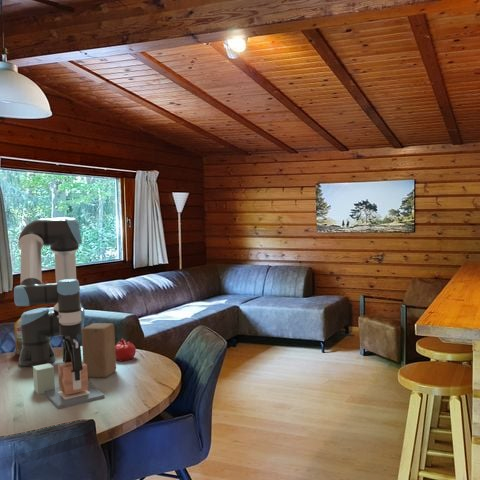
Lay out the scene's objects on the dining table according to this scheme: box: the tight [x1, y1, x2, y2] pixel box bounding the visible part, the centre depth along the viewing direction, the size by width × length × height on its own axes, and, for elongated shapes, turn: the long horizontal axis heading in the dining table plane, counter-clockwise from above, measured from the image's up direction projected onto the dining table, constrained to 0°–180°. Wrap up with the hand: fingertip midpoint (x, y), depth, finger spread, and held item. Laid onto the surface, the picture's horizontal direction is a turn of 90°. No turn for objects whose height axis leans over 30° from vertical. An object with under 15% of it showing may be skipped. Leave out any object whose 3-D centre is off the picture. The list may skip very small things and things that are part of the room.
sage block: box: [32, 363, 56, 395], centre depth 191 cm, size 6×6×9 cm
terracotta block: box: [57, 361, 89, 395], centre depth 184 cm, size 8×8×9 cm
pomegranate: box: [115, 338, 137, 362], centre depth 229 cm, size 10×10×9 cm
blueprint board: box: [43, 381, 105, 410], centre depth 185 cm, size 18×16×1 cm
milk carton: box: [13, 311, 26, 356], centre depth 245 cm, size 11×11×19 cm
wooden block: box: [81, 322, 117, 379], centre depth 208 cm, size 10×10×20 cm
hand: (73, 385), depth 184 cm, fingers closed on terracotta block, 8 cm apart
